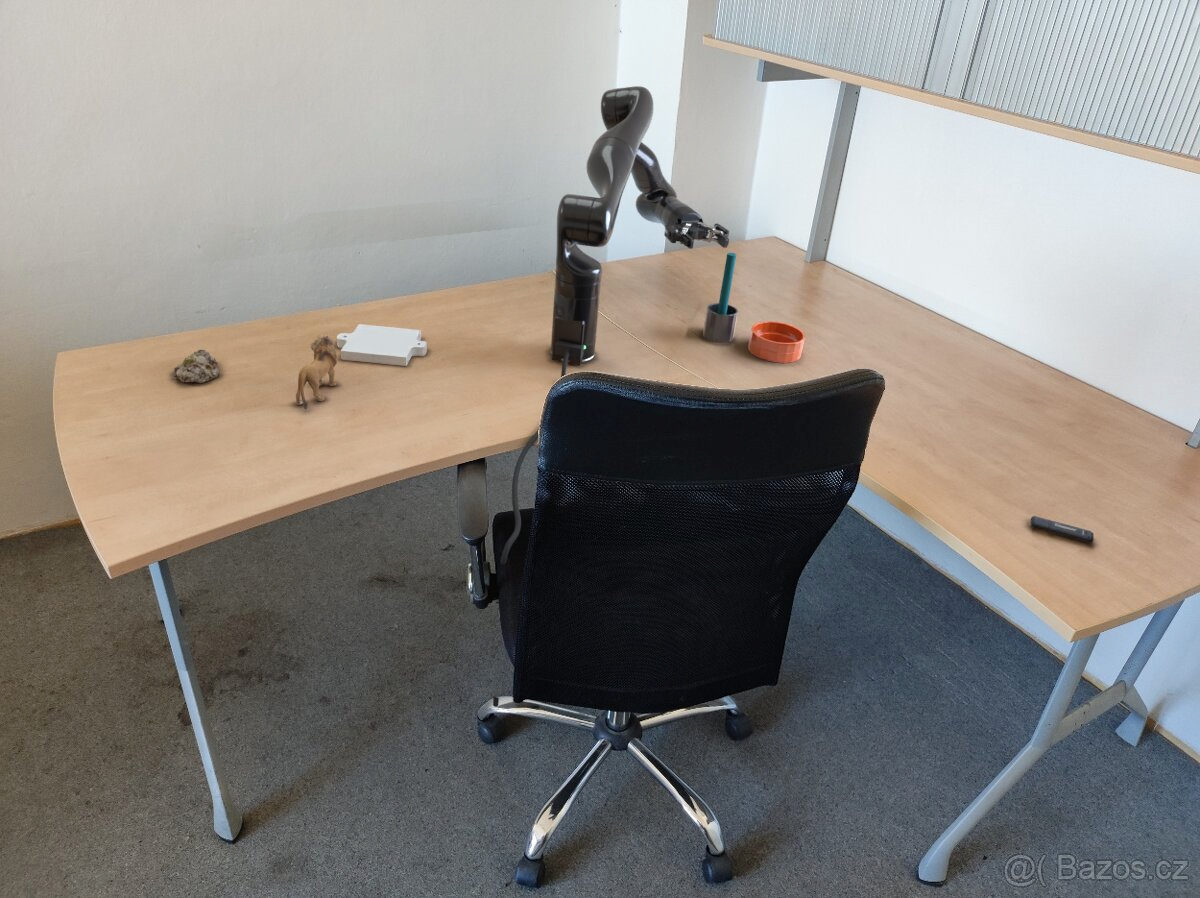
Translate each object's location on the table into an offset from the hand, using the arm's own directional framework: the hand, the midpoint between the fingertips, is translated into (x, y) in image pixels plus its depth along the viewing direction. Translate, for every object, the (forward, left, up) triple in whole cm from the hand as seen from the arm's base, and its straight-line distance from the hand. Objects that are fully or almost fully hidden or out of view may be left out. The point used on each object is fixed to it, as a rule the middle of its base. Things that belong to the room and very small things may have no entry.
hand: (709, 244), depth 199 cm
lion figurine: (-68, +59, -18) cm, 92 cm away
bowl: (-11, -19, -18) cm, 29 cm away
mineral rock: (-71, +82, -18) cm, 110 cm away
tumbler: (-9, -6, -18) cm, 21 cm away
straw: (-9, -6, -17) cm, 21 cm away
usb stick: (-59, -72, -18) cm, 95 cm away
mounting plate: (-47, +57, -18) cm, 76 cm away
